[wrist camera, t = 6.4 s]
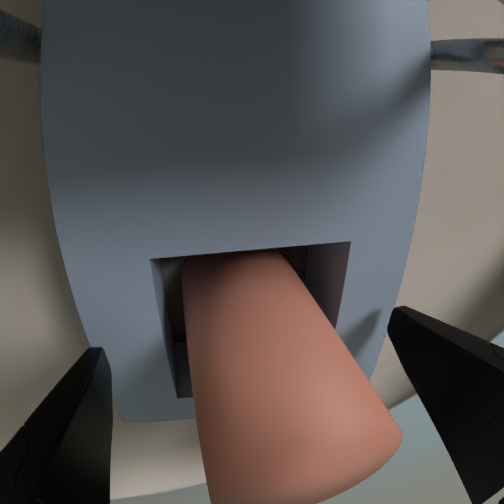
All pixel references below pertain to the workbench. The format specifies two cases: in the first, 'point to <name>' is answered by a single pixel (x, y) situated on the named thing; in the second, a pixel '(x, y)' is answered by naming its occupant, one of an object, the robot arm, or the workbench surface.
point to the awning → (442, 51)
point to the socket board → (230, 161)
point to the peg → (276, 386)
